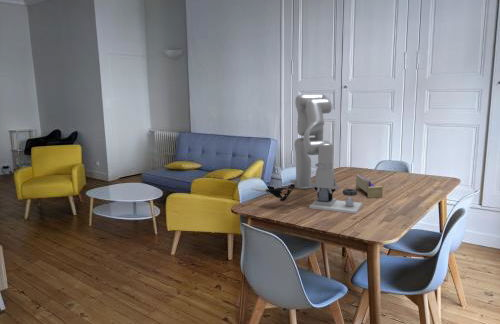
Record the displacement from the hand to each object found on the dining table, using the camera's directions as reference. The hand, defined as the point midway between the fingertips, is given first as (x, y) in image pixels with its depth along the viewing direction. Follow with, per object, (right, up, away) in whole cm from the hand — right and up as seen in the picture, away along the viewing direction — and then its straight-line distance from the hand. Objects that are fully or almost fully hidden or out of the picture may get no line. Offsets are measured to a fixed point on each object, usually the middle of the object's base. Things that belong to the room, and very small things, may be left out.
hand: (324, 199), depth 205 cm
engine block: (0, -1, 0) cm, 1 cm away
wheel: (+12, +3, -7) cm, 14 cm away
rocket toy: (-29, -4, +1) cm, 29 cm away
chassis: (+5, -4, -2) cm, 7 cm away
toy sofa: (+30, +1, +23) cm, 38 cm away
